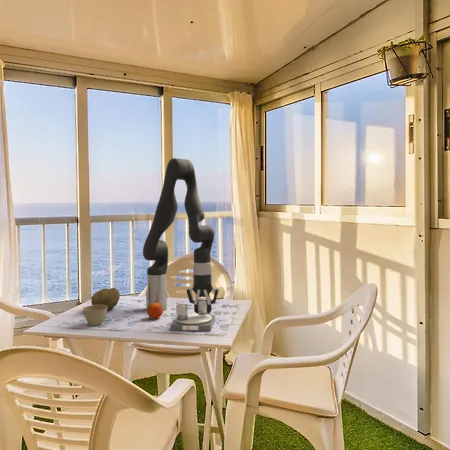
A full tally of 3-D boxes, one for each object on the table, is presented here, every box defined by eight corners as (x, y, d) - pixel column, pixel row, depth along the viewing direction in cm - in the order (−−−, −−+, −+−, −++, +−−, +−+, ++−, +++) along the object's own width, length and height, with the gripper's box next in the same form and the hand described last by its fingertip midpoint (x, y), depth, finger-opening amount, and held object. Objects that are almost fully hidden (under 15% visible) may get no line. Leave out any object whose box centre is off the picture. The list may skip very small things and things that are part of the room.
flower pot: (82, 322, 177) (81, 306, 177) (106, 319, 181) (105, 303, 181) (84, 328, 168) (83, 311, 168) (109, 325, 172) (109, 308, 171)
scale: (170, 330, 164) (170, 323, 164) (178, 319, 180) (178, 312, 180) (210, 331, 162) (210, 324, 162) (215, 319, 179) (215, 313, 179)
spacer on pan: (175, 320, 167) (175, 306, 167) (177, 317, 172) (177, 303, 172) (186, 320, 167) (186, 306, 167) (188, 317, 171) (188, 303, 171)
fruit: (149, 321, 178) (148, 303, 177) (145, 317, 184) (144, 300, 184) (164, 319, 181) (164, 301, 180) (160, 315, 187) (160, 298, 187)
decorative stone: (106, 315, 189) (105, 293, 189) (85, 313, 192) (84, 292, 192) (125, 306, 205) (124, 286, 205) (105, 305, 208) (104, 285, 208)
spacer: (196, 315, 172) (196, 300, 171) (198, 312, 176) (198, 298, 176) (207, 315, 171) (207, 300, 171) (208, 312, 176) (208, 298, 175)
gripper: (183, 274, 170) (184, 315, 170) (218, 274, 168) (218, 315, 169) (187, 271, 177) (187, 310, 178) (220, 271, 176) (220, 311, 177)
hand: (203, 312), depth 174 cm, fingers closed on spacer, 4 cm apart
